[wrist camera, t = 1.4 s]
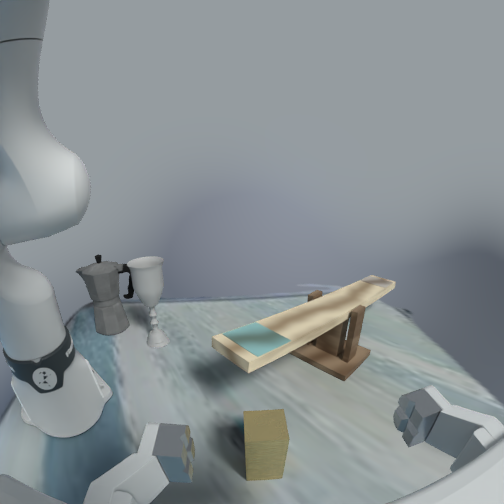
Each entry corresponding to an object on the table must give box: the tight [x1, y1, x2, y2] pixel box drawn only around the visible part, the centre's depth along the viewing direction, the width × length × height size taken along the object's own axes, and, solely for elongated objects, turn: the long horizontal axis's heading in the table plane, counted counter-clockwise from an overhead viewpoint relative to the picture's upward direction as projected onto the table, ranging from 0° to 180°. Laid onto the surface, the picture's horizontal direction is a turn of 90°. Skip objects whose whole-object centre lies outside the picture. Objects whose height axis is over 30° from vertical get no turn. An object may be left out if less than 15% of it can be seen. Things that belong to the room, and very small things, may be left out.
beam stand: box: [289, 290, 371, 381], centre depth 50 cm, size 14×10×12 cm
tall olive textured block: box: [244, 409, 289, 481], centre depth 26 cm, size 4×4×10 cm
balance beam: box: [212, 275, 395, 373], centre depth 49 cm, size 7×49×2 cm, turn 133°
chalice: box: [127, 257, 170, 348], centre depth 53 cm, size 7×7×18 cm
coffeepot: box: [76, 255, 134, 335], centre depth 58 cm, size 15×9×18 cm, turn 99°
